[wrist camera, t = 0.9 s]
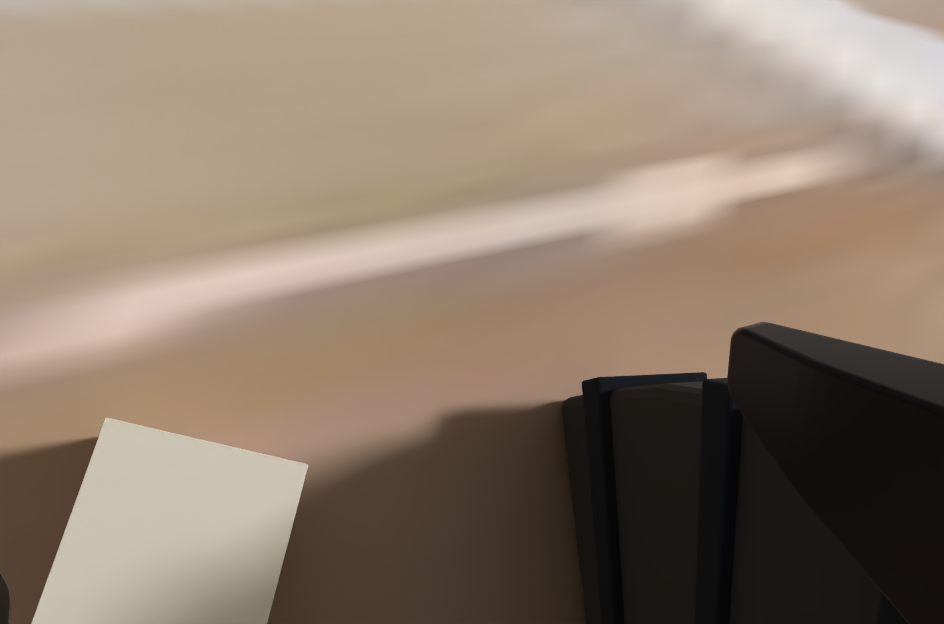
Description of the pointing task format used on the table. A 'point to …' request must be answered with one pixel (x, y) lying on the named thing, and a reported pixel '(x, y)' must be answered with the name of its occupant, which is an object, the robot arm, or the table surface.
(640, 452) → the black flat block
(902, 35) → the table surface
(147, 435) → the block
